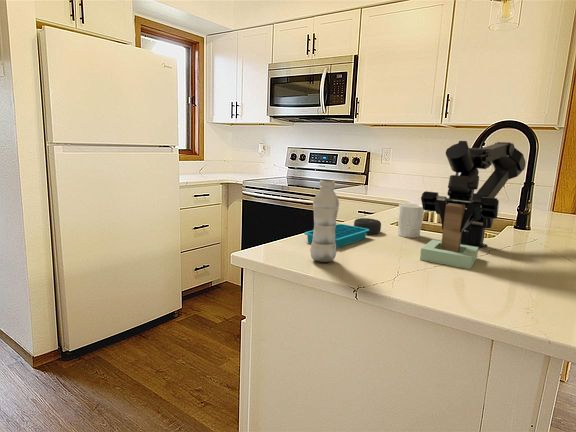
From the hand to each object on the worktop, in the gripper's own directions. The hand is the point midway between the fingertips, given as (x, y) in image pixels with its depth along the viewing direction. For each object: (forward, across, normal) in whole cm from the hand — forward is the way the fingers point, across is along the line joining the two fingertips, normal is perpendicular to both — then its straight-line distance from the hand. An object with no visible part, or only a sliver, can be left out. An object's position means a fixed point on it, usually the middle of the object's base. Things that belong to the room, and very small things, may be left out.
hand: (451, 230), depth 101 cm
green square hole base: (+5, 0, +6) cm, 8 cm away
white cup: (-9, -16, +21) cm, 28 cm away
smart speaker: (-6, -29, +18) cm, 35 cm away
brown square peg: (+4, 0, +6) cm, 7 cm away
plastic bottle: (+22, -25, -10) cm, 35 cm away
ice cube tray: (+6, -32, +6) cm, 33 cm away
